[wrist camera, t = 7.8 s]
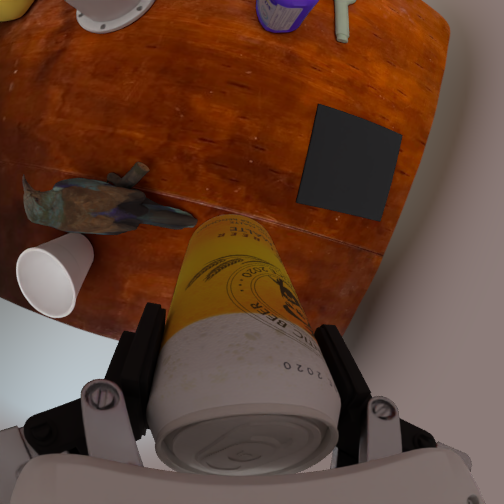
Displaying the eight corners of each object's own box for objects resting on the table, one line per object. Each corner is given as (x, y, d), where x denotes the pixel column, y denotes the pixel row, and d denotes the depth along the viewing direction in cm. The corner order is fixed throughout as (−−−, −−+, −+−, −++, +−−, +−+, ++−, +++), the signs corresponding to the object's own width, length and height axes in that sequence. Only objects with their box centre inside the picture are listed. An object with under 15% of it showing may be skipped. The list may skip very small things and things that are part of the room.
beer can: (289, 249, 20) (384, 431, 7) (233, 302, 22) (250, 494, 8) (228, 193, 18) (242, 362, 5) (171, 255, 20) (108, 451, 6)
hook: (323, -35, 22) (315, 35, 28) (326, -39, 21) (318, 31, 27) (355, -24, 23) (350, 46, 29) (359, -27, 22) (355, 43, 27)
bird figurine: (213, 182, 34) (73, 183, 17) (189, 249, 38) (62, 291, 20) (146, 151, 38) (26, 144, 20) (129, 210, 42) (16, 226, 24)
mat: (318, 104, 32) (318, 103, 32) (401, 135, 35) (402, 135, 34) (295, 202, 37) (296, 202, 37) (379, 220, 40) (380, 221, 39)
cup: (110, 231, 36) (78, 264, 26) (101, 287, 40) (74, 329, 29) (57, 211, 34) (15, 237, 24) (51, 266, 37) (17, 301, 27)
